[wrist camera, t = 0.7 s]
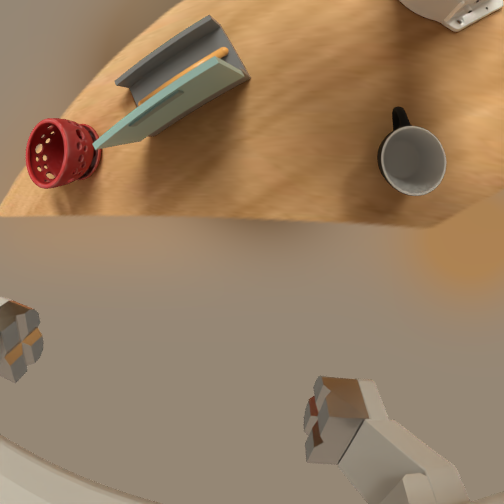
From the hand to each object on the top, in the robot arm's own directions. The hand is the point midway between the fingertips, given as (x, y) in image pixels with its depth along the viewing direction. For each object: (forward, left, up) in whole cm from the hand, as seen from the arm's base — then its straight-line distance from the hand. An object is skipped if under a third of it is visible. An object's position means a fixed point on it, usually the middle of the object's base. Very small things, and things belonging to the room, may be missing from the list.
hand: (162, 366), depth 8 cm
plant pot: (+37, -27, -46) cm, 64 cm away
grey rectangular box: (+11, -26, -45) cm, 53 cm away
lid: (+11, -19, -34) cm, 41 cm away
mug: (-15, 0, -46) cm, 48 cm away
